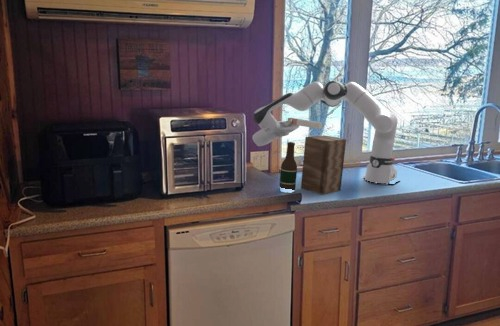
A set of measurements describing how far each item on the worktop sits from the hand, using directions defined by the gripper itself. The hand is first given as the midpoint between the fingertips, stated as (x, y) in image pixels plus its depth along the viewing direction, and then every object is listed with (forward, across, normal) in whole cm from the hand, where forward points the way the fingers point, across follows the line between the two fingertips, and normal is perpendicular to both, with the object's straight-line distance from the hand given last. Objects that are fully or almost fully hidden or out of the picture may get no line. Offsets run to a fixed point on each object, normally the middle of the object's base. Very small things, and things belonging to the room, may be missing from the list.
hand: (294, 120), depth 237 cm
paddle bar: (+5, 0, +5) cm, 7 cm away
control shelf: (+2, 0, +38) cm, 38 cm away
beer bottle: (-4, -19, +35) cm, 40 cm away
